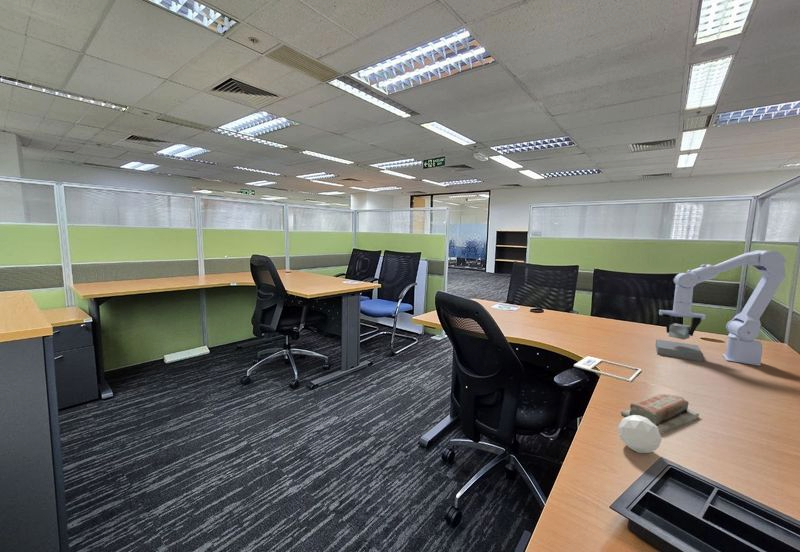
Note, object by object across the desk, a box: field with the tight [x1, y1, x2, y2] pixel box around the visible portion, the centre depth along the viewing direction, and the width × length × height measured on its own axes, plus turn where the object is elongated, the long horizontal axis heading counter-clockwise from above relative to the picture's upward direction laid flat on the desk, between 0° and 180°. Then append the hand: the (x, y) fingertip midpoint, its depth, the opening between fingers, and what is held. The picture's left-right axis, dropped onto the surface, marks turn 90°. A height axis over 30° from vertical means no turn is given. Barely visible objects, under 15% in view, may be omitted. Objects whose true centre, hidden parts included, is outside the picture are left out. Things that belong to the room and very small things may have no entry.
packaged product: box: [620, 393, 700, 434], centre depth 88 cm, size 18×5×10 cm
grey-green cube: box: [668, 322, 691, 341], centre depth 138 cm, size 5×5×5 cm
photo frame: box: [573, 355, 642, 383], centre depth 121 cm, size 15×1×18 cm
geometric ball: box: [617, 415, 662, 454], centre depth 74 cm, size 8×8×8 cm
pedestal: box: [655, 338, 704, 362], centre depth 139 cm, size 14×14×3 cm
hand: (679, 333), depth 138 cm, fingers closed on grey-green cube, 7 cm apart
